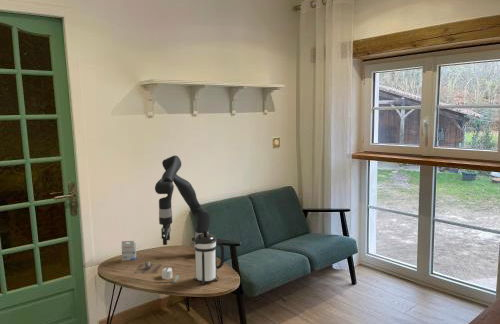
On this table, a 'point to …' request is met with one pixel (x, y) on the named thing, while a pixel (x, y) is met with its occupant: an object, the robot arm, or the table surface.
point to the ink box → (128, 250)
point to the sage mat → (170, 282)
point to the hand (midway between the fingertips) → (166, 242)
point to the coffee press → (206, 257)
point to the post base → (152, 268)
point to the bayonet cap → (166, 273)
